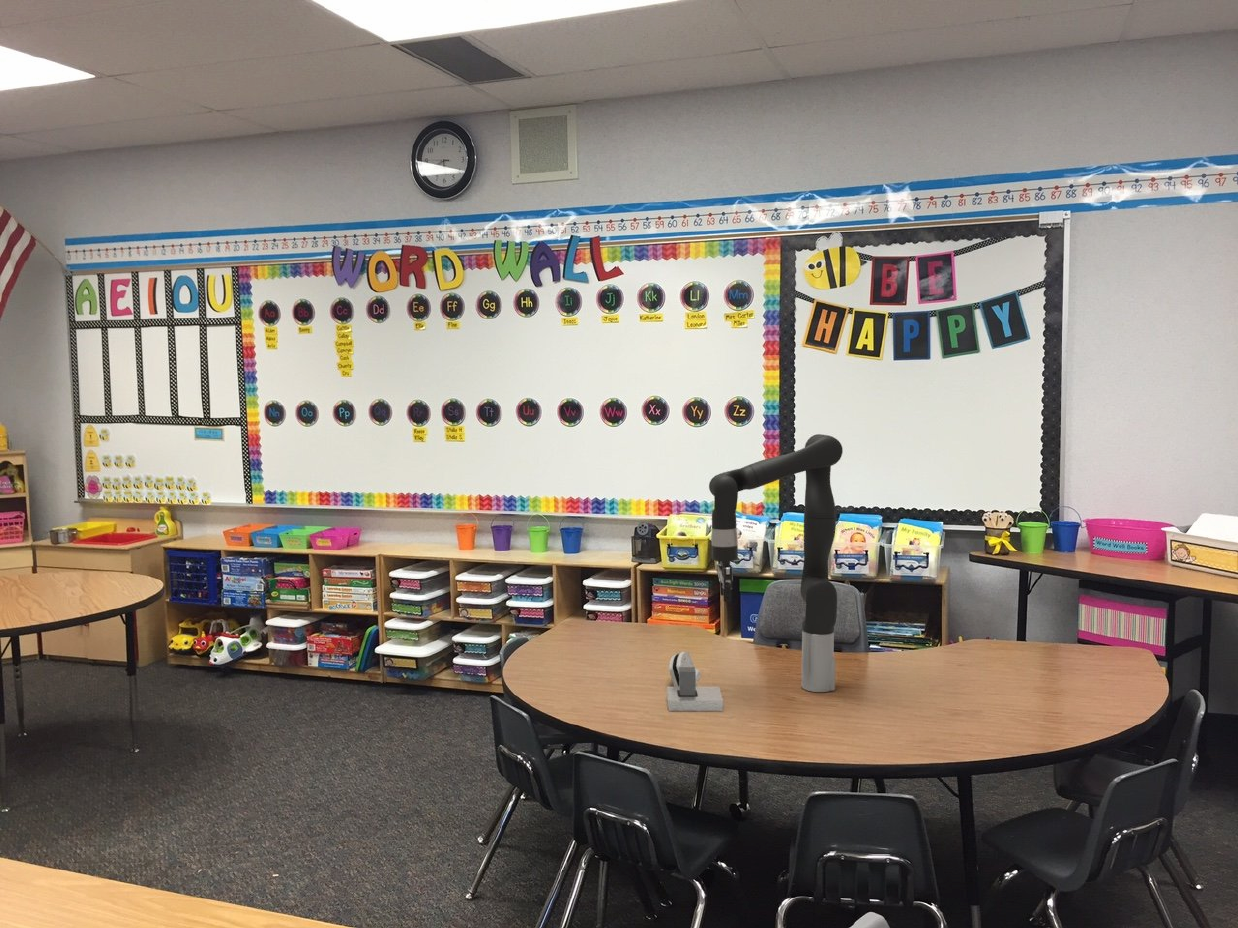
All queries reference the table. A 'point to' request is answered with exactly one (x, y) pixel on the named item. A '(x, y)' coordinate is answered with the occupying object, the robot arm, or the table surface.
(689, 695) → the square peg
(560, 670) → the table surface
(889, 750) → the table surface
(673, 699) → the square hole plate
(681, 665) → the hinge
